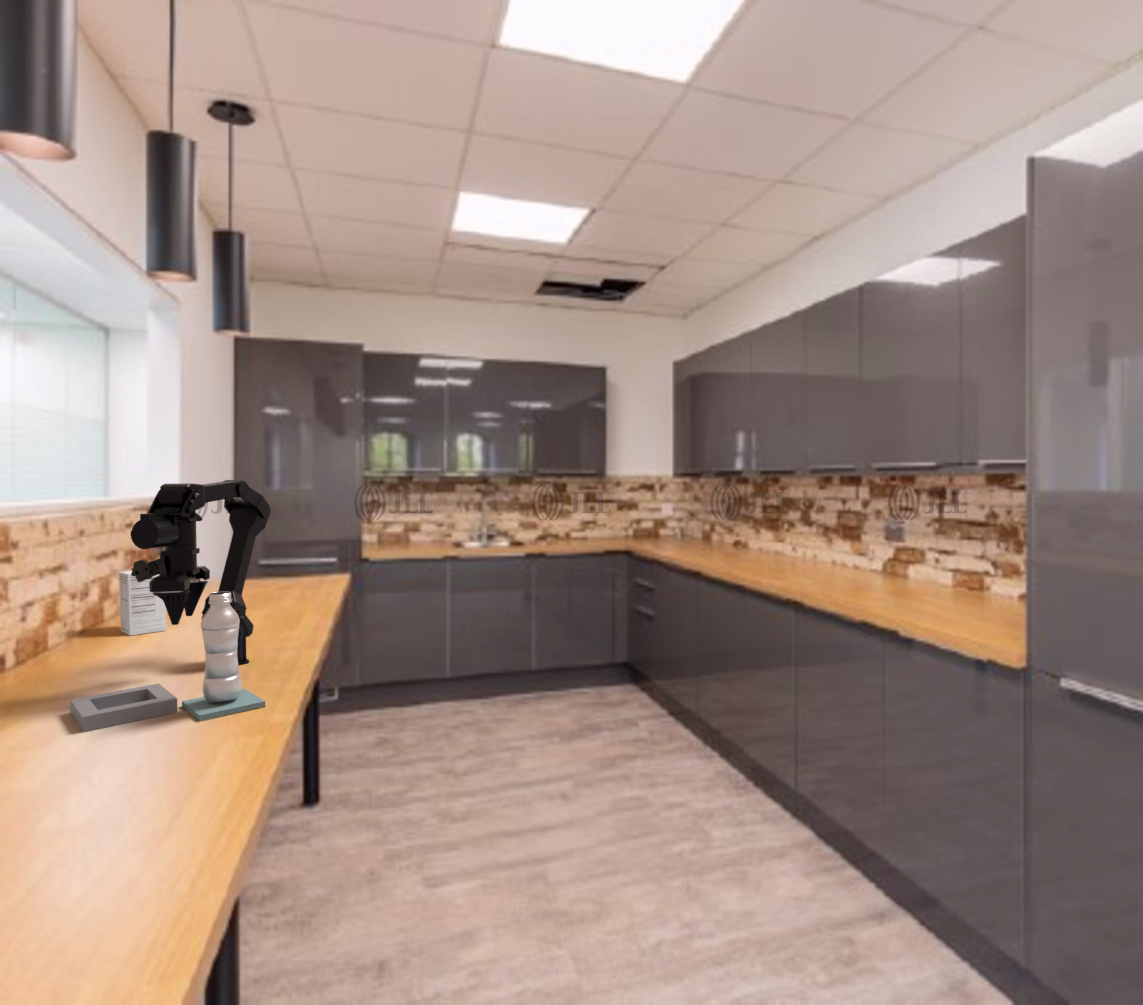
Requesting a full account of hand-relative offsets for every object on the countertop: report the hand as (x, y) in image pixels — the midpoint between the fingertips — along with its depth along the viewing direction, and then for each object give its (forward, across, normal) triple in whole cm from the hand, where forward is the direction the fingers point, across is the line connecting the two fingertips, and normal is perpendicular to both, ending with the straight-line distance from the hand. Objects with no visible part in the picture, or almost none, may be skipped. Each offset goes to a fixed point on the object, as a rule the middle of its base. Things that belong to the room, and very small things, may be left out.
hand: (182, 620), depth 142 cm
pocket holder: (+13, +18, -5) cm, 22 cm away
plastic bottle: (+12, +18, +12) cm, 25 cm away
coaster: (+13, +18, +12) cm, 26 cm away
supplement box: (+13, -58, -27) cm, 66 cm away
